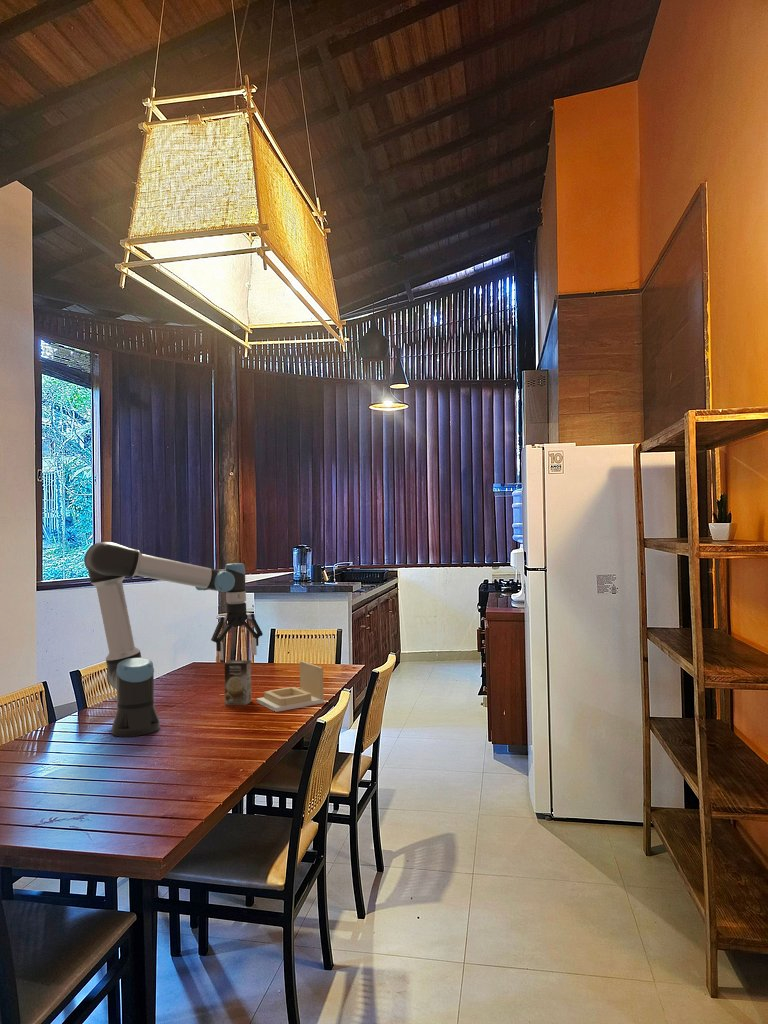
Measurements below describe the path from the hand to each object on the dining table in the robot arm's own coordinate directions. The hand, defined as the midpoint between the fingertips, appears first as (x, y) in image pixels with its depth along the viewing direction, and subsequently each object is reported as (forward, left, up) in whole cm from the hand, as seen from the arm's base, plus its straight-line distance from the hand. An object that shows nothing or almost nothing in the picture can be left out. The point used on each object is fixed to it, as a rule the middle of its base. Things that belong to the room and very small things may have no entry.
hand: (238, 657), depth 254 cm
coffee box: (0, 0, -18) cm, 18 cm away
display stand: (+15, -13, -18) cm, 26 cm away
